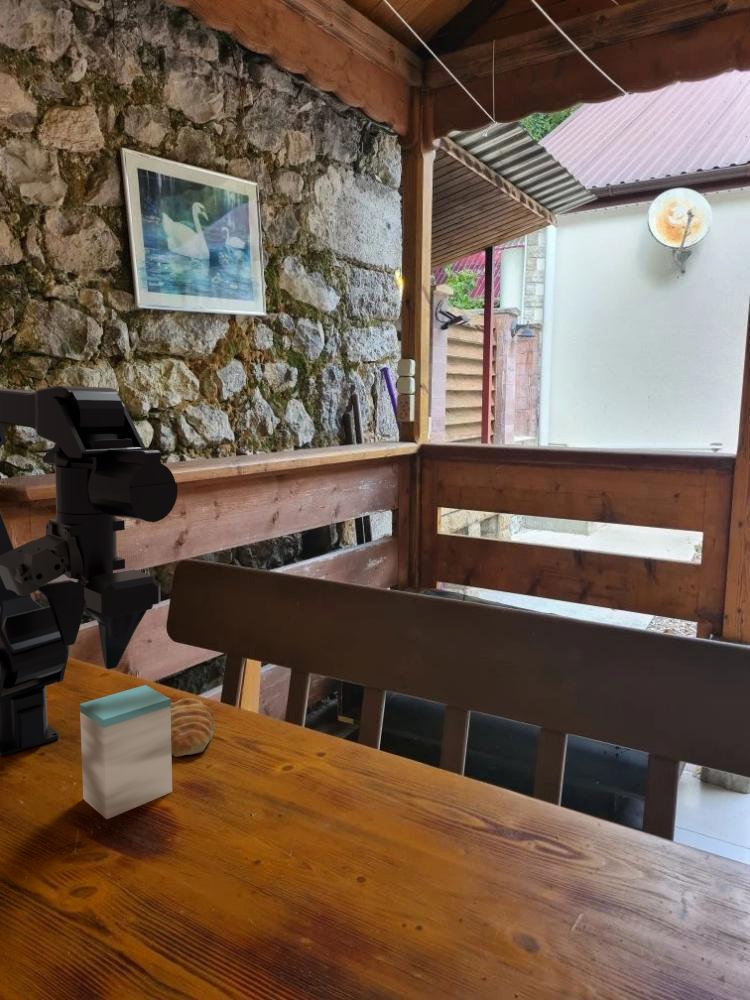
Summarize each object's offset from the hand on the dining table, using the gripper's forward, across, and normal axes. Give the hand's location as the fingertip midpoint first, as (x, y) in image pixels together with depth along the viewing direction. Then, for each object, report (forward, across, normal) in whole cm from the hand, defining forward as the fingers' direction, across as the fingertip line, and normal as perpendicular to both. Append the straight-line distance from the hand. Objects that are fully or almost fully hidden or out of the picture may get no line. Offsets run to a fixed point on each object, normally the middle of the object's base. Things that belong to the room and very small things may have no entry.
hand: (89, 656), depth 75 cm
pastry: (+13, +1, +12) cm, 18 cm away
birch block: (+13, +7, 0) cm, 15 cm away
